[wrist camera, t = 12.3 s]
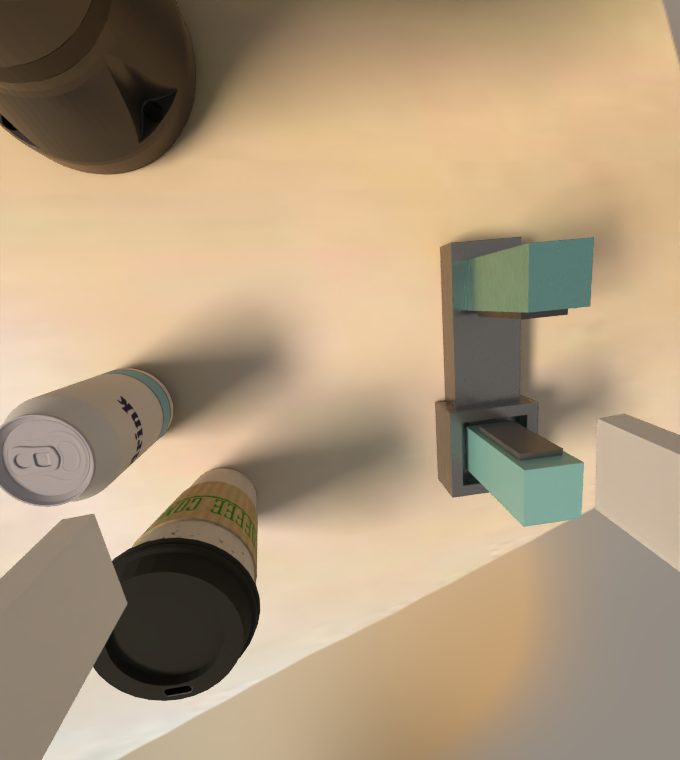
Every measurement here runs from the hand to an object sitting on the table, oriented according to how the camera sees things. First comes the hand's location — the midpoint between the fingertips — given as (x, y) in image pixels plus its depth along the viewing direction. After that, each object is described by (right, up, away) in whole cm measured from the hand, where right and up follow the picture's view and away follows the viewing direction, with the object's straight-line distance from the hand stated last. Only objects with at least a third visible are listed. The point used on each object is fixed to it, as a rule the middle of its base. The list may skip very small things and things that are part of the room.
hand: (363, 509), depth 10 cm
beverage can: (-19, +1, +23) cm, 29 cm away
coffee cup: (-12, -8, +25) cm, 29 cm away
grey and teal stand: (+12, +5, +25) cm, 28 cm away
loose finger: (+13, -3, +24) cm, 28 cm away
